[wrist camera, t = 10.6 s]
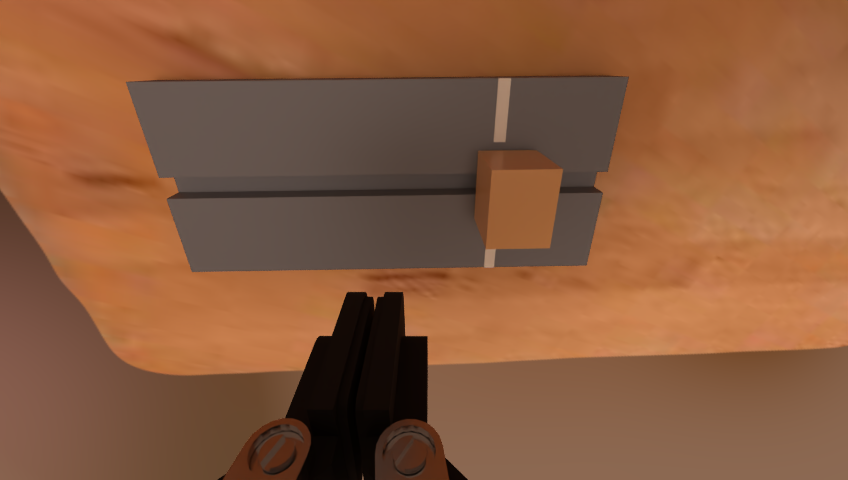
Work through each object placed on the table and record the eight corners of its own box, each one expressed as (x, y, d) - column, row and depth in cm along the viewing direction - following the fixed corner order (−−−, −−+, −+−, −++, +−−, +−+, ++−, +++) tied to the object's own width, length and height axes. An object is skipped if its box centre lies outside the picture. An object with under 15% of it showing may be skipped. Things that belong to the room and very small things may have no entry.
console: (606, 75, 25) (629, 76, 23) (572, 248, 32) (587, 265, 29) (157, 80, 25) (124, 82, 22) (211, 253, 31) (191, 272, 29)
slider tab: (529, 145, 26) (563, 169, 20) (521, 209, 28) (549, 248, 22) (474, 145, 26) (491, 170, 20) (471, 210, 28) (485, 249, 22)
